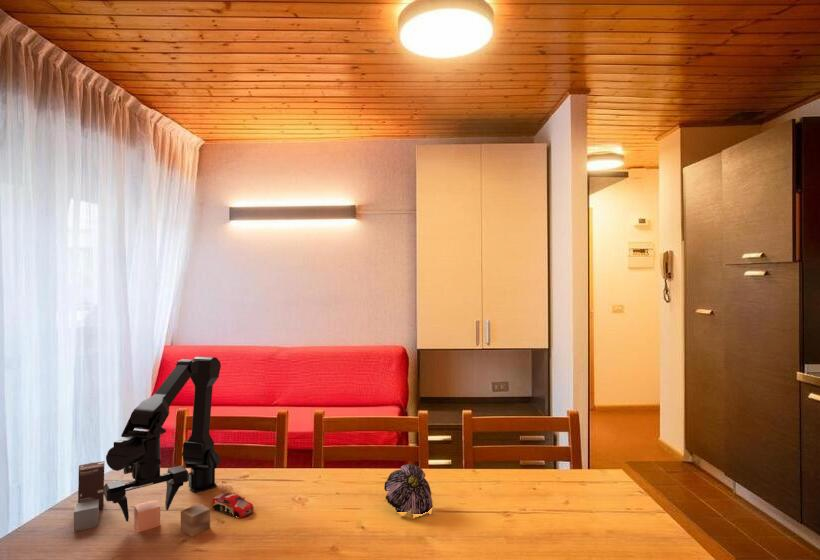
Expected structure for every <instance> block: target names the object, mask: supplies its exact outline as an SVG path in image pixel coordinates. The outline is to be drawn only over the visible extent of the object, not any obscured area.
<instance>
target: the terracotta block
mask: <svg viewBox="0 0 820 560" xmlns="http://www.w3.org/2000/svg"><path fill="white" fill-rule="evenodd" d="M133 510H134V511H133V525H134V527H135V528H136V531H137V532H138V533H141V532H143V531H147V530H150V529H153V528H156V527H160V526H161V505H160V504H159V502H158V501H157V499H153V500H148V501H145V502H142V503H137V504H134V507H133Z"/></svg>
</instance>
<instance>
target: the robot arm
mask: <svg viewBox="0 0 820 560" xmlns="http://www.w3.org/2000/svg"><path fill="white" fill-rule="evenodd" d="M221 366H222V364H221V361H220V360H219V359H218V358H217V357H215V356H201V355H200V356H198V355H197V356H195V357H194V358H193V359H186V358H182V359H179V360H178V361H177V362H176V365H175V367H174V369H173V370H172V371H171V373H170V374H169V375H168V376H167V377H166V379H165V380H164V381H163V382H162V384H161V385H160V386H159V387H158V389H157V390H156V391H155V393H154V394H152V396H150V397H148V398H147V399H144V400H142V401H141V402H140V403H139V404H138V405H137V406H136V407H135V408H134V409H133V411H132V412H131V414H130V417H129V418H128V421H127V423H126V425H125V427H124V429H123V430H122V433H121V435H120V436H121V437H122V438H121V439H118V440H115V441H113V446H112V447H111V448H110V449H109V450H108V451H107V454H106V455H105V461H106V464H107V465H108V467H109V468H110V469H111V470H112V471H115V472H119V471H122V470H123V474H124V475H127V474H131V476H132V480H133V479H134V481H129V482H124V481H123V479H122V478H121V479H117V480H114V481H109V482H106V483H104V498H105V500H106V502H112V504H118V505H119V507H120V509H121V511H122V513H123V516H124V520H125V521H126V523H127V522H129V518H130V517H129V516H130V515H129V507H128V505H129V504H128V498H127V496H126V495H127V494H126V492H129V491H133V490H136V489H140V488H145V487H149V486H152V485H156V484H157V485H158V484H161V483H164V482H165V483H166V492H165V500H164V501H165V504H164V505H165V510H166V511H168V510H169V509H170V507H171V504H172V502H173V501H174V497H175V496H176V494H177V493H178V490H179V489H180V487H183V486H184V483H188V487H189V488H190V489H191V490H192V491H193V493H198V492H202V491H207V490H210V489H214V488H217V487H218V486H217V483H216V482H215V481H216V469H217V468H219V467H218V466H220V465H221V464H220V463H221V456H220V455H219V454H218V453H217V452H216V451H215V442H214V440H213V438H212V436H211V435H210V429H211V428H210V427H211V426H210V425H211V414H212V412H211V411H212V398H213V387H214V385H215V383H216V382H217V381H218V379H219V378H220V377H219V376H220V372H221ZM189 380H191V382H192V383H193V385H194V396H193V397H194V398H193V410H192V421H191V423H192V424H191V433H190V436H189V437H188V439H187V441H184V442H183V444H182V452H181V456H182V461H183V462H184V465H185V466H183V465H178V466H177V465H176V466H173V467H169V468H168V469H167V472H166V473H163V474H161V464H162V461H161V435H162V434H166V432H167V429H165V428H163V425H164V424H165V422H166V420H167V418H168V417H169V416H170V407H171V405H172V403H173V401H174V400H175V399H176V398H177V396H178V395H179V393H180V392H181V390H182V389H183V388H184V387H185V386H186V384H187V382H188V381H189ZM186 468H187V469H188V468H189V469H190V472H189V471H188V470H187V469H186Z"/></svg>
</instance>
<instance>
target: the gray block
mask: <svg viewBox="0 0 820 560" xmlns="http://www.w3.org/2000/svg"><path fill="white" fill-rule="evenodd" d="M99 513H100V509H99V499H98V500H92V501H87V502H82V503H78V502H77V503H75V505H74V510H73V532H77V531H76V530H78V531H81V530H82V529H83V530H88V529H92V528H95V527H98V526H99V520H100V519H99V517H100V516H99V515H100V514H99Z"/></svg>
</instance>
